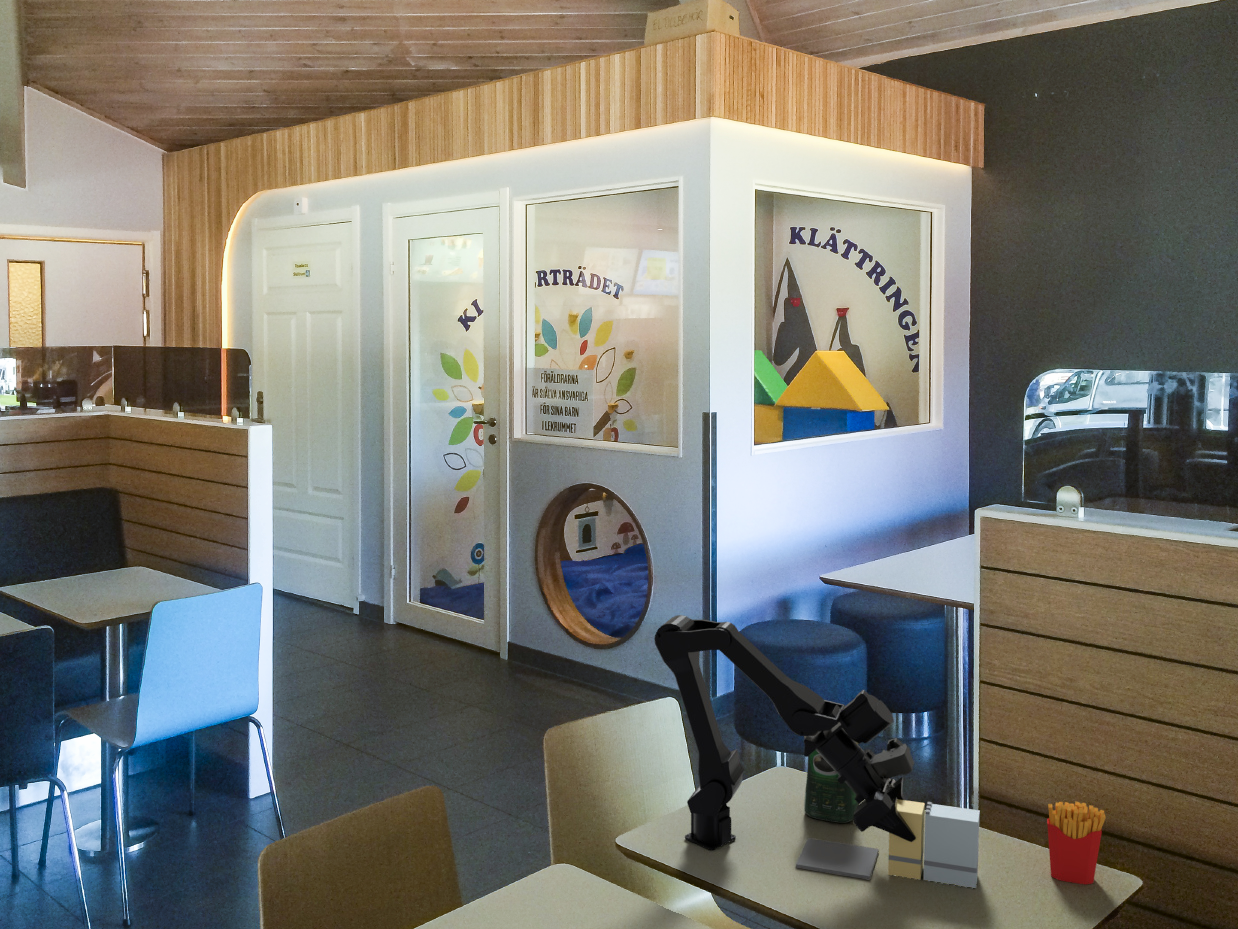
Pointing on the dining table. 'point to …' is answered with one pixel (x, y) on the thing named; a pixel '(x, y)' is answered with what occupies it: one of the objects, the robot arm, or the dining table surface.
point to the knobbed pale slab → (951, 845)
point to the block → (902, 852)
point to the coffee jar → (827, 792)
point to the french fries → (1074, 841)
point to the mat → (838, 858)
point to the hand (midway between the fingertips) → (915, 833)
